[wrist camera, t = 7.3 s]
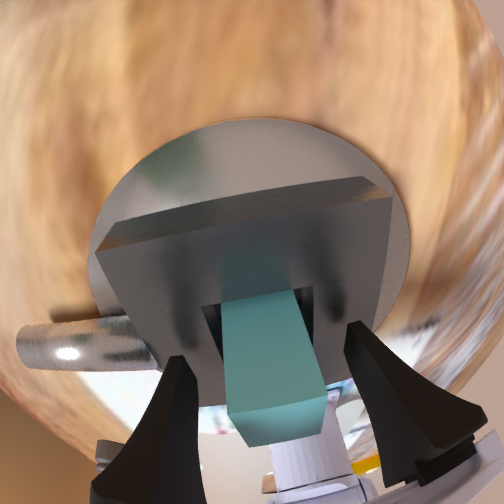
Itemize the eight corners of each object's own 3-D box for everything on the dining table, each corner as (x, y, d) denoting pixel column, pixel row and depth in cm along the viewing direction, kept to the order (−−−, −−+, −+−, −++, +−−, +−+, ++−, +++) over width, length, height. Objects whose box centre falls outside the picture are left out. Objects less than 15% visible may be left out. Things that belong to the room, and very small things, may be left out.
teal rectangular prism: (288, 319, 15) (320, 433, 9) (235, 329, 15) (249, 447, 9) (282, 262, 13) (328, 394, 7) (220, 274, 13) (227, 414, 7)
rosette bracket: (377, 347, 20) (396, 385, 16) (101, 389, 20) (94, 426, 16) (409, 108, 10) (467, 122, 7) (-17, 211, 10) (-55, 245, 6)
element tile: (332, 468, 55) (335, 482, 51) (381, 451, 55) (385, 464, 50) (330, 474, 63) (333, 485, 59) (373, 460, 63) (377, 471, 59)
